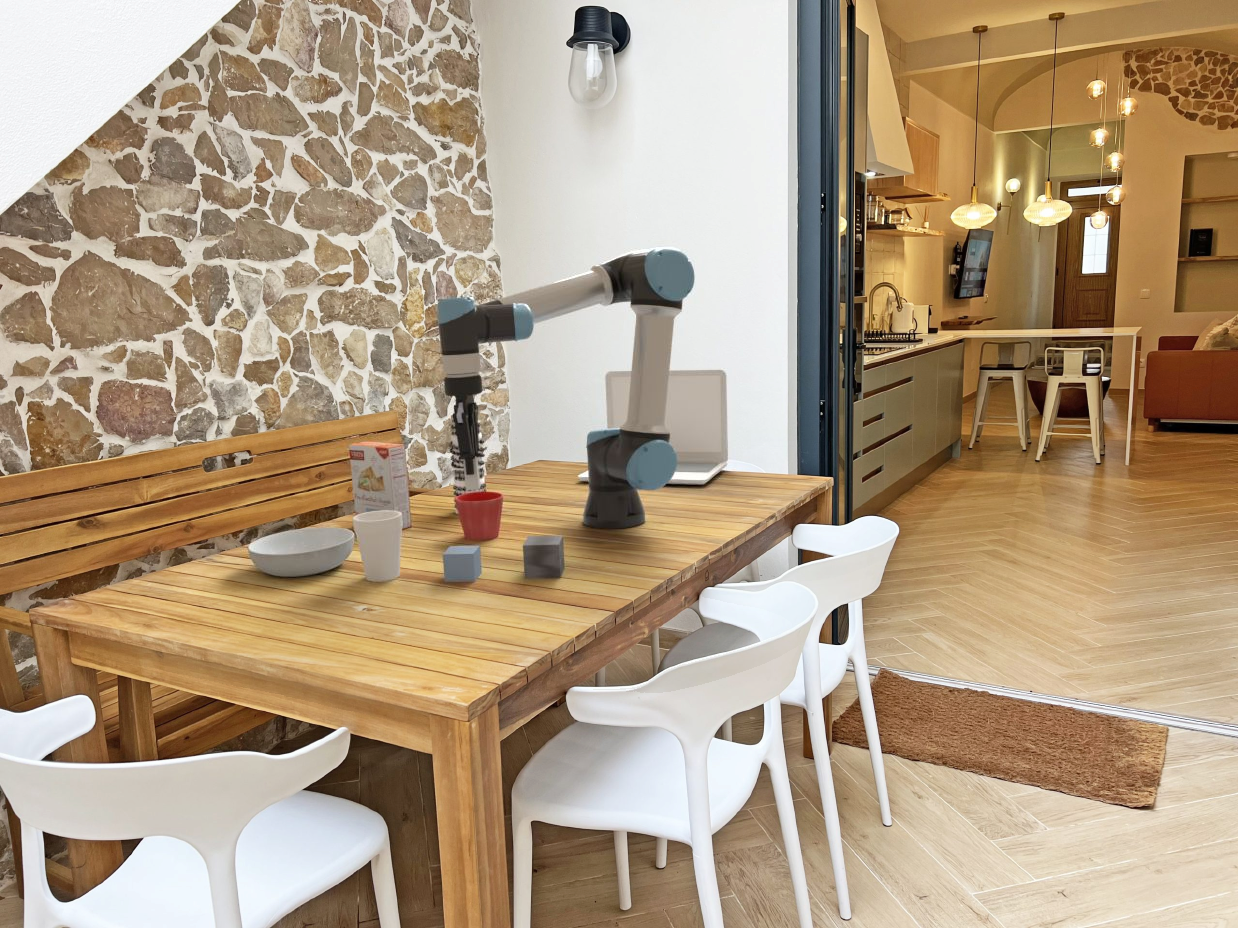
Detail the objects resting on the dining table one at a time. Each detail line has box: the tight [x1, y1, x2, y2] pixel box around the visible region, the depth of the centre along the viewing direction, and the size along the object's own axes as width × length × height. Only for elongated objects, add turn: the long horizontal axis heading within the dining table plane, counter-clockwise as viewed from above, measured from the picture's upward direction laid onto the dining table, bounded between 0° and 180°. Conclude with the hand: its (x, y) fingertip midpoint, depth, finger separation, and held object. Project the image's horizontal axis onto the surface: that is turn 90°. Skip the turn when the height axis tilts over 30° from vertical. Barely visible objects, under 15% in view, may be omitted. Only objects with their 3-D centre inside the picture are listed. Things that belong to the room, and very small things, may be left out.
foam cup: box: [352, 510, 403, 583], centre depth 181 cm, size 10×9×13 cm
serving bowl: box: [247, 526, 356, 578], centre depth 190 cm, size 21×21×7 cm
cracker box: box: [348, 440, 413, 531], centre depth 225 cm, size 14×6×21 cm, turn 57°
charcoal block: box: [522, 535, 566, 580], centre depth 181 cm, size 7×7×7 cm
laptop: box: [577, 369, 729, 485], centre depth 280 cm, size 40×31×31 cm
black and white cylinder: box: [448, 419, 487, 515], centre depth 238 cm, size 9×9×25 cm
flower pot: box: [454, 491, 504, 542], centre depth 212 cm, size 11×11×10 cm
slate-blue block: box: [442, 545, 483, 583], centre depth 180 cm, size 6×6×6 cm
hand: (473, 488), depth 189 cm, fingers closed
